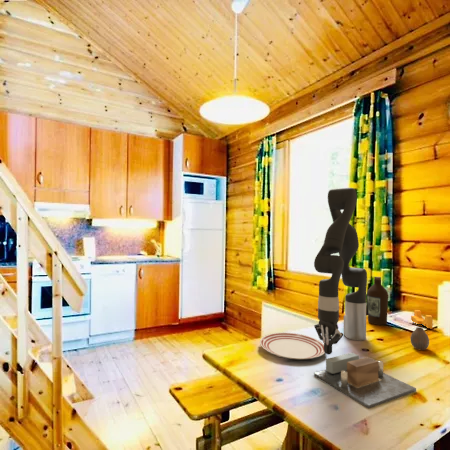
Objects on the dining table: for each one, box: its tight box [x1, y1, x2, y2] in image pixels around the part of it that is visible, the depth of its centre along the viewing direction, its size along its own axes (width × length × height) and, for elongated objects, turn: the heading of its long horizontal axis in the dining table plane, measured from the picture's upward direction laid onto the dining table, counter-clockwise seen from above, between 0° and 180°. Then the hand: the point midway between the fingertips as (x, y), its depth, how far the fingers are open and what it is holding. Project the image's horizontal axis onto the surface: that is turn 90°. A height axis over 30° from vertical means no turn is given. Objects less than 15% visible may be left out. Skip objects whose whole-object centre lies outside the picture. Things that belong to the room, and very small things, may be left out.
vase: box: [410, 326, 430, 351], centre depth 135 cm, size 7×7×9 cm
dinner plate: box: [259, 332, 325, 360], centre depth 131 cm, size 28×27×3 cm
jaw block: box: [347, 356, 379, 386], centre depth 103 cm, size 4×10×6 cm, turn 115°
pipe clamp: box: [410, 309, 434, 330], centre depth 168 cm, size 12×4×6 cm, turn 178°
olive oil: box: [366, 276, 389, 326], centre depth 172 cm, size 11×11×25 cm
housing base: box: [313, 360, 417, 410], centre depth 103 cm, size 22×22×6 cm
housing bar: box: [325, 352, 360, 374], centre depth 111 cm, size 3×13×4 cm, turn 116°
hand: (328, 353), depth 117 cm, fingers closed
